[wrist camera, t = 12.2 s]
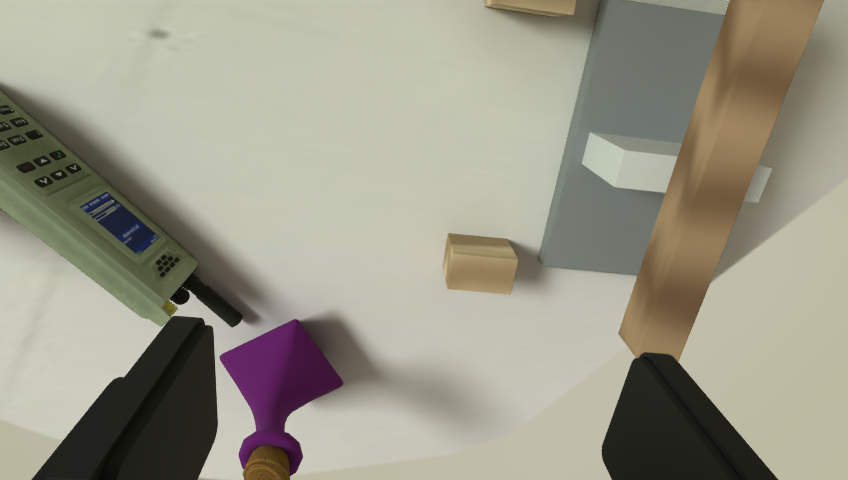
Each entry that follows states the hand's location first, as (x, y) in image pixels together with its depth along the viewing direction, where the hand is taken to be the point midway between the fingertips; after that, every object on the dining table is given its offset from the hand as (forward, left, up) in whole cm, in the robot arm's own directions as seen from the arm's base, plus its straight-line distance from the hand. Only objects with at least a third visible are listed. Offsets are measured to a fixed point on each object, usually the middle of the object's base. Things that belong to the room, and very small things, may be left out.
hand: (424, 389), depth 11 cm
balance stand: (-1, +19, -28) cm, 34 cm away
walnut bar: (-1, +19, -21) cm, 28 cm away
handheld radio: (+9, -21, -29) cm, 37 cm away
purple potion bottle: (+20, -8, -28) cm, 36 cm away
